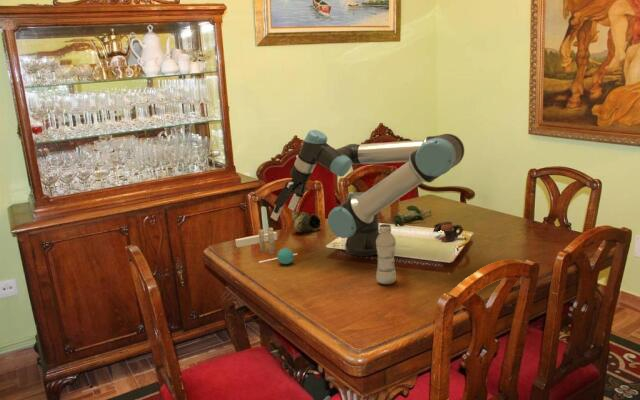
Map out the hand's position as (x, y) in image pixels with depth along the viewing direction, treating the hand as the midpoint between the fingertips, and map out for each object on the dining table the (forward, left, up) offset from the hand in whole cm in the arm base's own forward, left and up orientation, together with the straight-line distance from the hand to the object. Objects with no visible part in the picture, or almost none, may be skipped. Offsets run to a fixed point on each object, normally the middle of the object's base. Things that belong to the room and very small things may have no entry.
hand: (282, 213), depth 219 cm
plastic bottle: (-51, +8, -16) cm, 54 cm away
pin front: (+4, +4, -16) cm, 17 cm away
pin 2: (+7, 0, -16) cm, 17 cm away
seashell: (+8, -25, -16) cm, 31 cm away
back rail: (+19, -4, -16) cm, 25 cm away
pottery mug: (-50, -45, -16) cm, 69 cm away
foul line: (-2, +7, -16) cm, 17 cm away
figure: (-24, -62, -17) cm, 68 cm away
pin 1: (+9, +4, -16) cm, 19 cm away
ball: (-9, +10, -13) cm, 19 cm away
